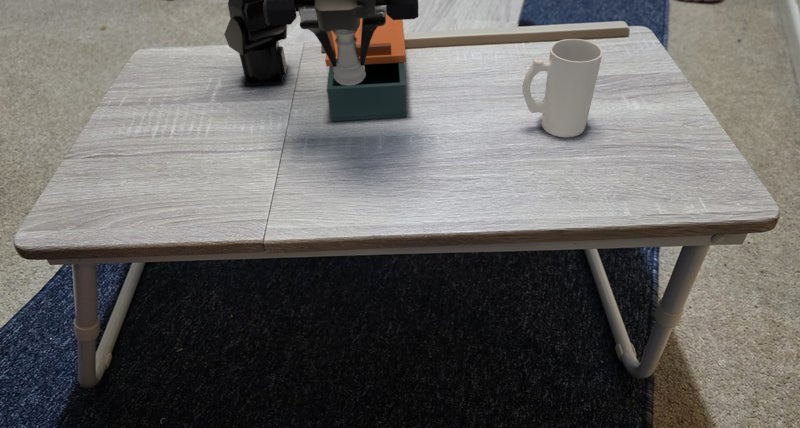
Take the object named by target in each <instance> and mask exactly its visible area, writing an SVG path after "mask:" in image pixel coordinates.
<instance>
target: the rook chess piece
mask: <svg viewBox="0 0 800 428" xmlns="http://www.w3.org/2000/svg"><path fill="white" fill-rule="evenodd" d="M357 30H358V28H357V29H356V30H351V31H348V30H346V29H344V30H332V31H333V32H334V33H335V35H336V36H337V38H336V40H335V42H336V43H337V47H338V57H337V60H336V67H334V69H333V72H334V79H335V80H336V81H337V82H338V83H340V84H342V85H355V84H358V83H360V82H362V80H363V79H364V78H365V76H366V72H365V71H364V70H365V66H364V65H361V60H360V58H359V56H358V53H357V48H356V41H357V38H356V37H355V33H356V31H357Z"/></svg>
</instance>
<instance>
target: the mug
mask: <svg viewBox="0 0 800 428" xmlns="http://www.w3.org/2000/svg"><path fill="white" fill-rule="evenodd" d="M549 48H550V49H549V57H548V59H547V61H546V60H545V61H544V59H541V58H540V59H537V58H534V59H532V63H531V65H530V66H529V69H528V70H527V72H526V74H525V75H524V78H523V81H522V95H523V99H524V101H525V104H526V107H527V110H528V111H529V112H530V113H531V114H534V113H540V114H542V117H541V126H542V128H543V129H544V131H545V132H546V133H547V134H550V135H552V136H555V137H558V138H573V137H577V136H579V135H581V134H582V133H583V132H584V131H585V130H586V126H587V122H588V118H589V114H590V111H591V105H592V100H593V97H594V93H595V92H594V91H595V89H596V84H597V79H598V75H599V71H600V66H601V63H602V57H603V54H604V51H603V49H602V47H601V46H600V45H598V44H597V43H595V42H593V41H590V40H586V39H582V38H581V39H580V38H566V39H560V40H558V41H555V42H554V43H552V45H550V47H549ZM540 72H541V73H542V72H547V74H546V82H545V90H544V97H543V99H542V100H539V101H537V100H535V99H534V98H533V97H532V93H531V84H532V82H533V79H534V78H535V77H536V75H538V74H539V73H540Z"/></svg>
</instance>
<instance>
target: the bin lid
mask: <svg viewBox="0 0 800 428" xmlns="http://www.w3.org/2000/svg"><path fill="white" fill-rule="evenodd" d="M404 31H405V29H404V21H403V20H393V19H391V18H390V17H389V16H388V15H387V14H386V24H385V25H383V26H378V27H377V28H376V30H375V31H374V33H373V36H372V38H371V41H370V44H369V48H368V52H367V56H366V59H365V63H364V65H366V64H384V63H402V62H404V63H407V55H406V43H405V41H406V40H405V32H404ZM331 32H332V37H333V42H334V47H335V52H336V60H337V57H338V47H337V43H336V42H335V40H336V38H337V36H336V35H335V33H334V32H333V31H331ZM361 32H362V18H360V26H359V27H358V30H357V31H356V33H355V37H356V38H357V41H356V48H357V53H358V56H359V58H360V49H361ZM325 66H326V67H327V68H329V66H333V65H332V64H331V62H330V60H329V58H328V56H327V54H326V53H325Z"/></svg>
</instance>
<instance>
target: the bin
mask: <svg viewBox="0 0 800 428" xmlns="http://www.w3.org/2000/svg"><path fill="white" fill-rule="evenodd" d="M364 66H365V70H364V71H365V72H366V76H365V78H364V79H363V80H362V82H360V83H358V84H355V85H342V84H340V83H338V82H337V81H336V80H335V79H334V72H333V69H334V67H333V66H329V67H328V76H327V86H326V93H327V101H328V106H329V113H330V114H329V115H330V121H331V122H343V121H360V120H378V119H379V120H380V119H395V118H396V119H397V118H407V117H408V109H407V106H408V105H407V85H406V73H405V72H406V71H405V62H402V63H384V64H366V65H364Z"/></svg>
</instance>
